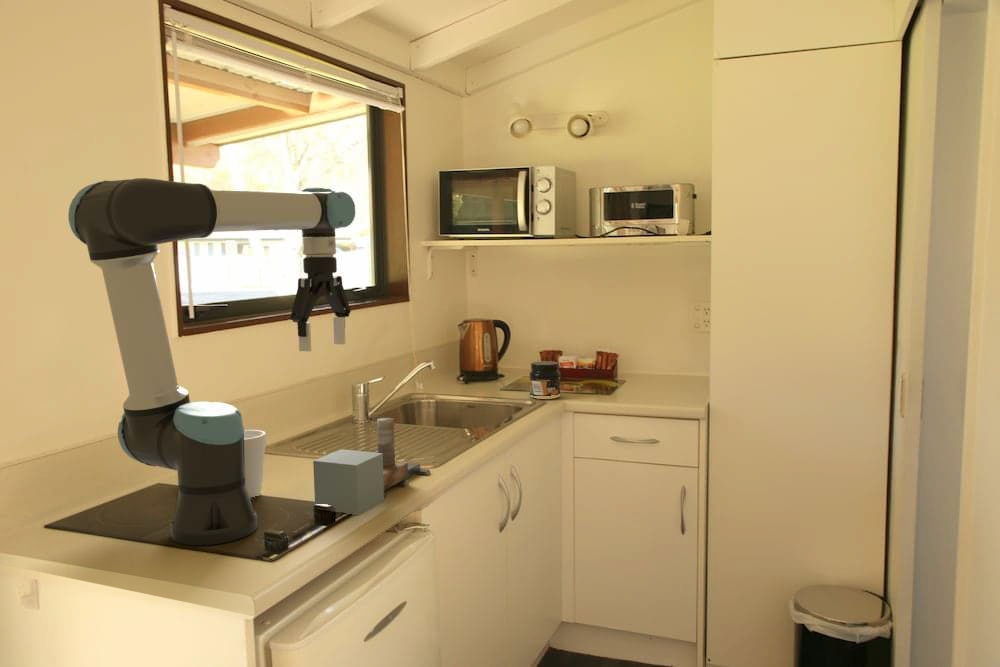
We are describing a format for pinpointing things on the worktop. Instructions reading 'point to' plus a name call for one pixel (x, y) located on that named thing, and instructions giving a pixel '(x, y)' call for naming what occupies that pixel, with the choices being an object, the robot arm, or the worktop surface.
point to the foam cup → (254, 460)
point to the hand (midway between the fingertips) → (323, 347)
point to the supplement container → (544, 378)
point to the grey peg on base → (389, 453)
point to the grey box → (349, 480)
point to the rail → (410, 474)
